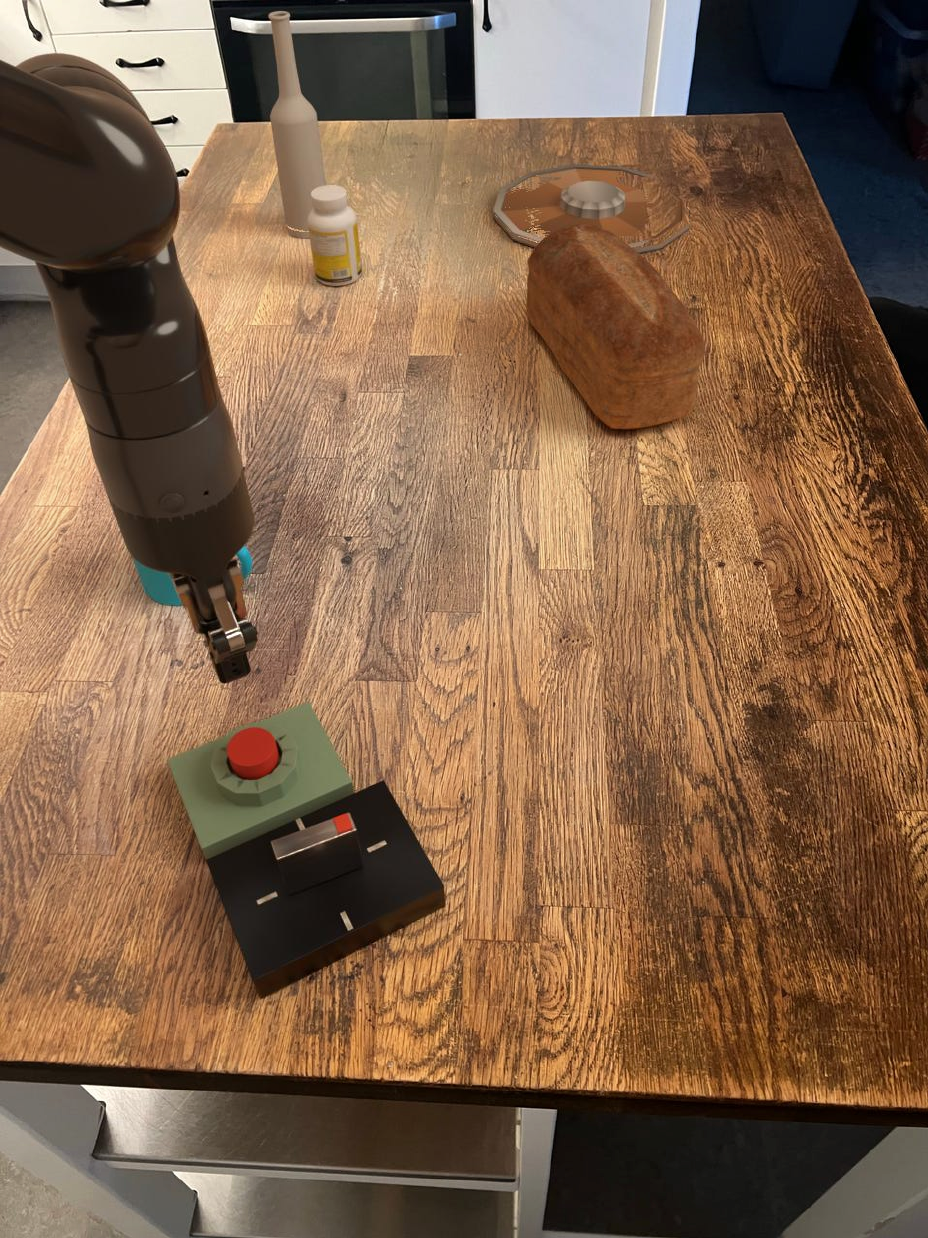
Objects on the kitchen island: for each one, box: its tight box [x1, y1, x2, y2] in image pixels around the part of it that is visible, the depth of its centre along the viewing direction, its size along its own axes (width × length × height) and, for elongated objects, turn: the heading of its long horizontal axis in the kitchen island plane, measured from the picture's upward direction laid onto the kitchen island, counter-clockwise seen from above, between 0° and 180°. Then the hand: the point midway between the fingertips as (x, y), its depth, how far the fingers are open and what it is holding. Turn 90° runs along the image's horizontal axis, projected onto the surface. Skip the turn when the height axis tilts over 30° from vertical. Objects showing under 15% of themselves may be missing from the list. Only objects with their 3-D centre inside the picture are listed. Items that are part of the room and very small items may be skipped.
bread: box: [525, 224, 706, 430], centre depth 111 cm, size 12×31×14 cm, turn 17°
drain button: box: [227, 727, 279, 779], centre depth 73 cm, size 4×4×2 cm
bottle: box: [267, 10, 327, 239], centre depth 133 cm, size 7×7×28 cm
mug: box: [131, 545, 253, 607], centre depth 89 cm, size 12×8×8 cm
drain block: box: [166, 701, 355, 861], centre depth 75 cm, size 12×9×4 cm
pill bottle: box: [307, 184, 363, 287], centre depth 129 cm, size 6×6×12 cm
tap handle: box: [271, 813, 363, 895], centre depth 65 cm, size 6×2×5 cm, turn 113°
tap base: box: [205, 779, 447, 1000], centre depth 68 cm, size 14×10×3 cm
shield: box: [492, 163, 691, 255], centre depth 144 cm, size 30×3×30 cm
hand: (233, 672), depth 66 cm, fingers closed
